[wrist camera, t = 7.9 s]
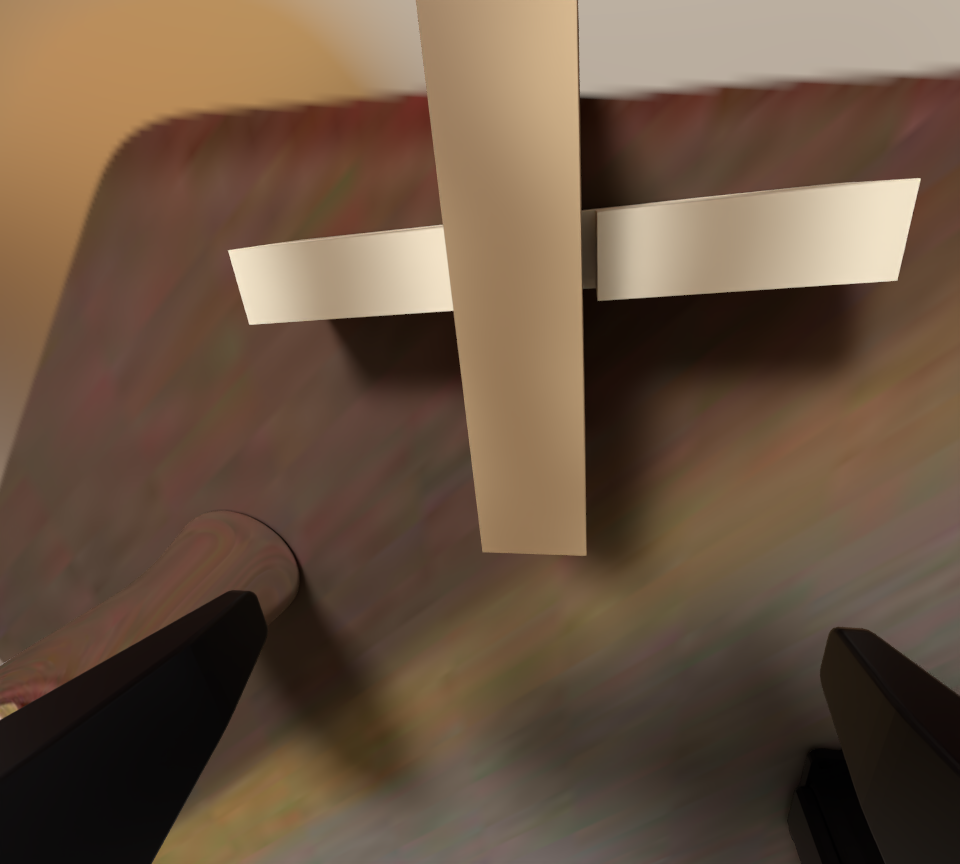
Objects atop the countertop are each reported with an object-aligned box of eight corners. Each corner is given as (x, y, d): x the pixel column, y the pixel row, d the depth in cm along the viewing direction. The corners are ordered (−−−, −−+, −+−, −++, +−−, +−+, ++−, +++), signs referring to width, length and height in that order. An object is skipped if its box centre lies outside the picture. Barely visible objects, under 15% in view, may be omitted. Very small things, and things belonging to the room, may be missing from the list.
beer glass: (256, 482, 22) (-258, 929, 8) (336, 601, 24) (27, 1106, 11) (148, 522, 24) (-389, 925, 11) (231, 627, 26) (-131, 1070, 13)
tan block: (578, 18, 13) (573, -145, 7) (585, 432, 18) (586, 555, 12) (485, 35, 14) (403, -102, 7) (516, 433, 19) (482, 552, 12)
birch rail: (832, 183, 14) (920, 178, 10) (819, 260, 14) (897, 280, 11) (302, 239, 17) (228, 250, 13) (316, 299, 18) (249, 324, 14)
